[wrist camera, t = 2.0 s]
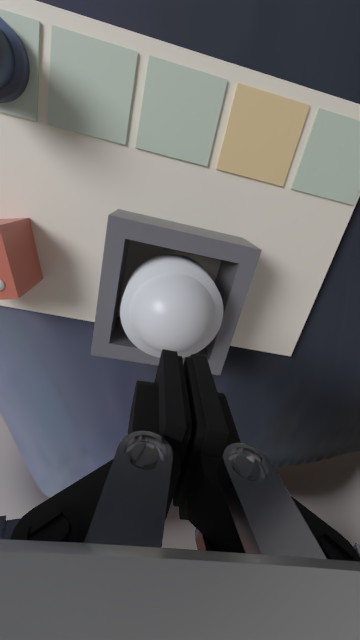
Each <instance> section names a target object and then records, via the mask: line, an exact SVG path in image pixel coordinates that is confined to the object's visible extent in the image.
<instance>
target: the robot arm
mask: <svg viewBox="0 0 360 640" xmlns="http://www.w3.org/2000/svg"><path fill="white" fill-rule="evenodd" d="M172 498H173V505H174V506H178V507H179V514H180V519H185V520H189V521H190V522H191V523H192V524H193V525H194V526H195V527H196V529H195V541H196V545H197V549H198V550H188V549H187V550H186V549H172V548H161V546H162V539H163V530H164V523H165V519H166V517H167V514H168V511H169V507H170V504H171V501H172ZM0 640H360V544H357V543H355V545H354V546H352V545H351V544H350V543H349V542H348V541H347V540H346V539H345V538H344V537H343V536H342V535H341V534H339V533H338V532H337V531H336V530H334V529H333V528H331V527H330V526H329V525H327V523H325V522H324V521H323V520H321V519H320V518H319V517H317V516H316V515H315V514H314V513H312V512H311V511H310V510H308V509H307V508H306V507H305V506H303V505H302V504H301V503H299V502H298V501H297V500H295V499H294V498H293V497H292V496H290V494H289V492H288V491H287V489H286V487H285V485H284V484H283V482H282V480H281V479H280V477H279V475H278V473H277V472H276V470H275V468H274V466H273V465H272V463H271V461H270V460H269V459H268V457H267V456H266V455H265V454H264V453H262V452H261V451H260V450H258V449H257V448H255V447H253V446H251V445H248V444H244V443H241V442H240V439H239V436H238V433H237V430H236V427H235V424H234V421H233V418H232V415H231V412H230V409H229V406H228V403H227V400H226V397H225V395H224V394H223V393H218V392H217V390H216V387H215V383H214V380H213V376H212V373H211V370H210V366H209V363H208V360H207V357H206V356H201V355H195V354H192V355H191V356H190V357H186V358H185V360H184V364H183V359H182V356H178V353H177V351H171V350H165V349H162V352H161V356H160V361H159V365H158V369H157V374H156V378H155V382H154V383H151V382H145V381H138V380H137V383H136V387H135V392H134V397H133V402H132V408H131V414H130V421H129V428H128V435H127V436H125V437H124V438H123V439H122V440H121V442H120V444H119V446H118V449H117V451H116V454H115V457H114V459H113V460H111V461H109V462H108V463H106V464H105V465H103V466H101V467H100V468H98V469H96V470H95V471H93V472H92V473H90V474H88V475H87V476H85V477H83V478H82V479H80V480H79V481H77V482H75V483H74V484H72V485H70V486H69V487H67V488H66V489H64V490H62V491H61V492H59V493H57V494H56V495H54V496H53V497H51V498H49V499H48V500H46V501H44V502H43V503H41V504H40V505H38V506H37V507H35V508H33V509H32V510H31V511H29V512H28V513H27V514H26V515H24V516H23V517H22V518H21V519H14V520H7V521H6V516H0Z"/></svg>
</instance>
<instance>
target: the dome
mask: <svg viewBox="0 0 360 640" xmlns="http://www.w3.org/2000/svg"><path fill="white" fill-rule="evenodd" d="M120 318H121V323H122V326H123V329H124V331H125V333H126V335H127V337H128V338H129V339H130V341H131V342H132V343H133V344H134V345H135V346H136V347H137V348H139V349H140V350H142V351H143V352H145V353H147V354H149V355H152V356H154V357H158V358H160V356H161V352H162V349H165V350H171V351H177V353H178V356H182V358H184V357H188V356H190V355H192V354H195V353H197V352H199V351H200V350H202V349H204V348H205V347H206V346H207V345H208V344H209V343H210V342H211V341H212V340H213V339H214V337H215V336H216V335H217V333H218V331H219V329H220V326H221V324H222V319H223V302H222V298H221V295H220V293H219V291H218V289H217V287H216V285H215V283H214V281H213V280H212V278H211V276H210V274H209V273H208V272H207V270H206V269H205V268H204V267H203V266H202V265H201V264H199V263H198V262H197V261H195V260H193V259H191V258H189V257H187V256H183V255H179V254H163V255H158V256H155V257H152V258H150V259H148V260H146V261H145V262H143V263H142V264H141V265H139V266H138V267H137V268H136V269H135V271H134V272H133V273H132V275H131V276H130V278H129V280H128V283H127V285H126V288H125V291H124V294H123V297H122V301H121V306H120Z"/></svg>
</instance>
